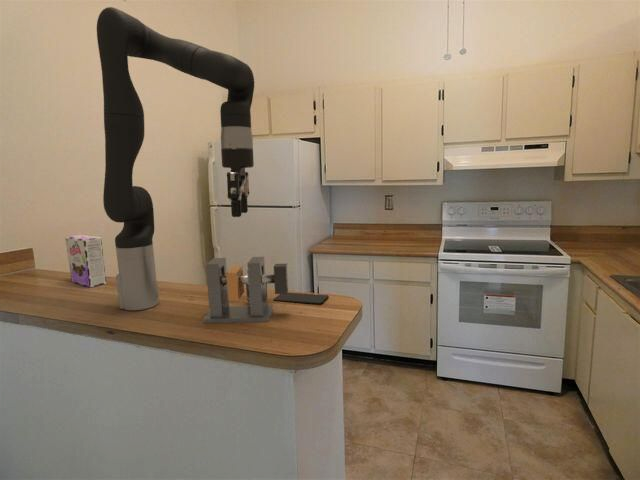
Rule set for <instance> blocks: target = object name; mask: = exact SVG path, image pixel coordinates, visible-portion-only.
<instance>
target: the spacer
mask: <svg viewBox="0 0 640 480" xmlns="http://www.w3.org/2000/svg"><path fill="white" fill-rule="evenodd" d="M240 275H244V267H243V265H232V266H231V267H230V268H229V270H228V271H227V273H226V276H227V290H228V301H229V302H230V301H239V300H240V299H241V297H242V296H243V294H244V293H245V284H239V276H240Z"/></svg>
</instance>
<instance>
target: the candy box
mask: <svg viewBox="0 0 640 480" xmlns="http://www.w3.org/2000/svg"><path fill="white" fill-rule="evenodd" d="M102 240H103V239H102V237H101V236H93V235H87V234H86V235H85V234H74V235H68V236H65V244H66V245H65V246H66V252H67V256H68V257H67V258H68V266H69V272H70V273H69V274H70V277H71V278H70V279H71V282H72V283H73V284H77V285H80V286H83V287H88V288H94V287H99V286H102V285H107V275H106V267H105V258H104V250H103V242H102Z"/></svg>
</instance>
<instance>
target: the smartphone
mask: <svg viewBox="0 0 640 480" xmlns="http://www.w3.org/2000/svg"><path fill="white" fill-rule="evenodd" d="M327 300H329V295H328V294H317V295H315V294H314V293H300V292H299V293H298V292H287V294H277V296H275V297H274V298H273V302H279V303H287V304H289V303H292V304H301V305H312V306H322V305H323V304H325V302H326V301H327Z"/></svg>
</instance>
